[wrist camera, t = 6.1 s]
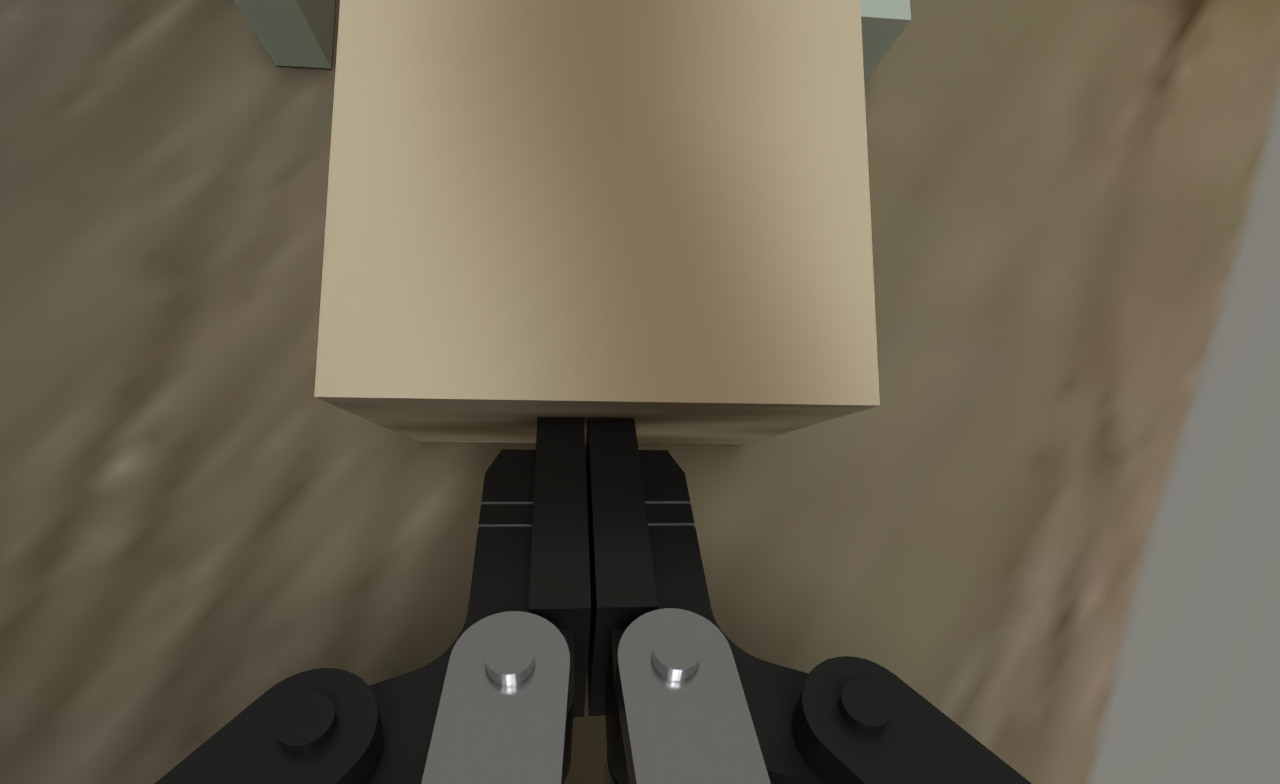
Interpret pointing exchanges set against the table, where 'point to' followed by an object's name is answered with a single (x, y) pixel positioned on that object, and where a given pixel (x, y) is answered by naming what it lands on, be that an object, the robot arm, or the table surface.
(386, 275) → the oak block
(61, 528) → the table surface
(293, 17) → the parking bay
